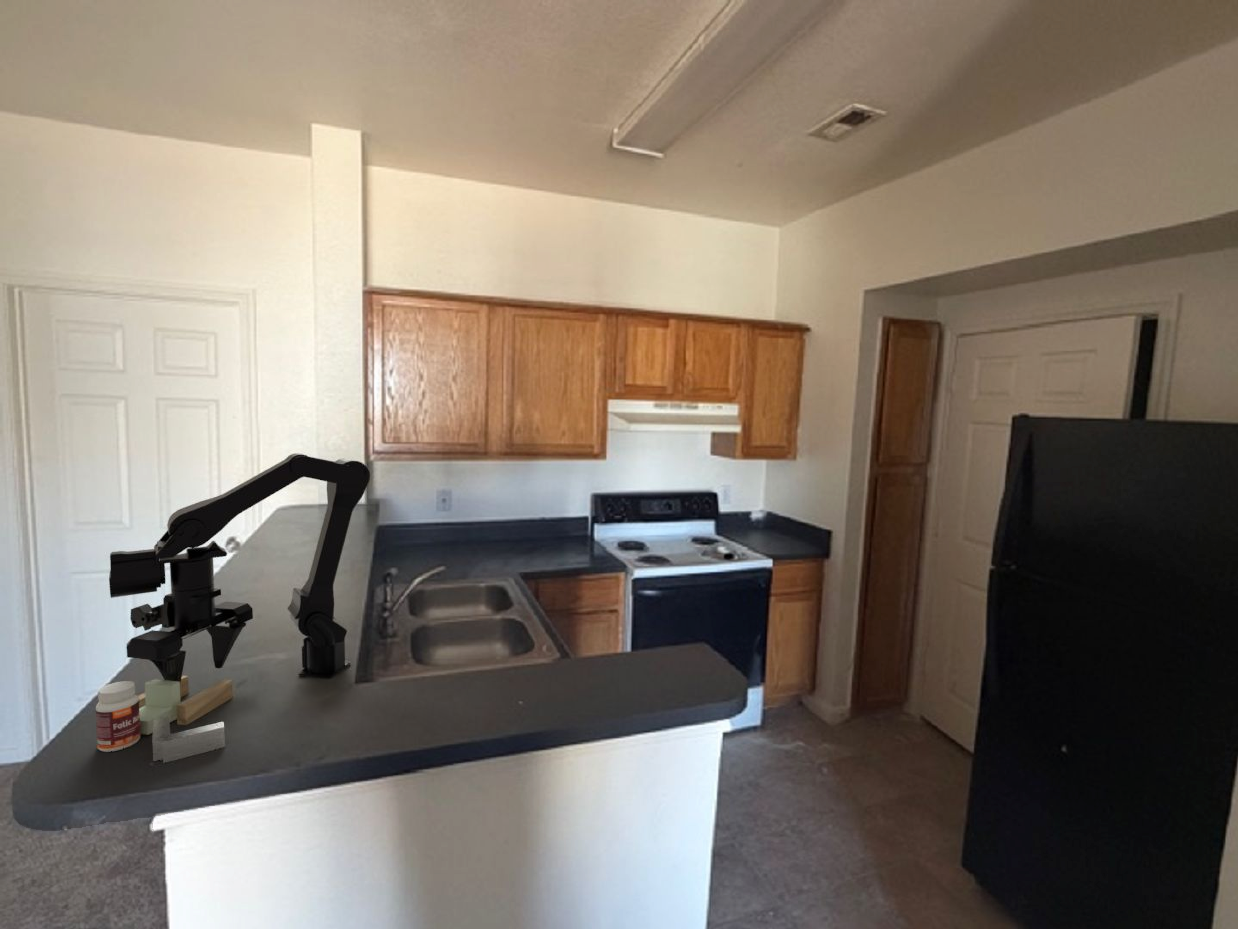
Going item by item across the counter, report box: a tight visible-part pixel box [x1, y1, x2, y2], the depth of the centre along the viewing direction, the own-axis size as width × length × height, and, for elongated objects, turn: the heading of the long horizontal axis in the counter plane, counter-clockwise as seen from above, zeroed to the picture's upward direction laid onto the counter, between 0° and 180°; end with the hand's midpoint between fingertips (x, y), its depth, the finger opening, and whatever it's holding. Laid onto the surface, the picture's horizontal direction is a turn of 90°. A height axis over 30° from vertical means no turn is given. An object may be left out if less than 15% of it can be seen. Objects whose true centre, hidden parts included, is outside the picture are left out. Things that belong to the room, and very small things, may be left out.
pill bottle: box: [95, 680, 141, 753], centre depth 85 cm, size 5×5×8 cm
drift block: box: [139, 678, 182, 735], centre depth 91 cm, size 5×6×6 cm
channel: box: [137, 675, 234, 726], centre depth 96 cm, size 10×9×3 cm
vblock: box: [151, 716, 226, 764], centre depth 84 cm, size 11×6×3 cm, turn 81°
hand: (197, 678), depth 99 cm, fingers open, 8 cm apart
